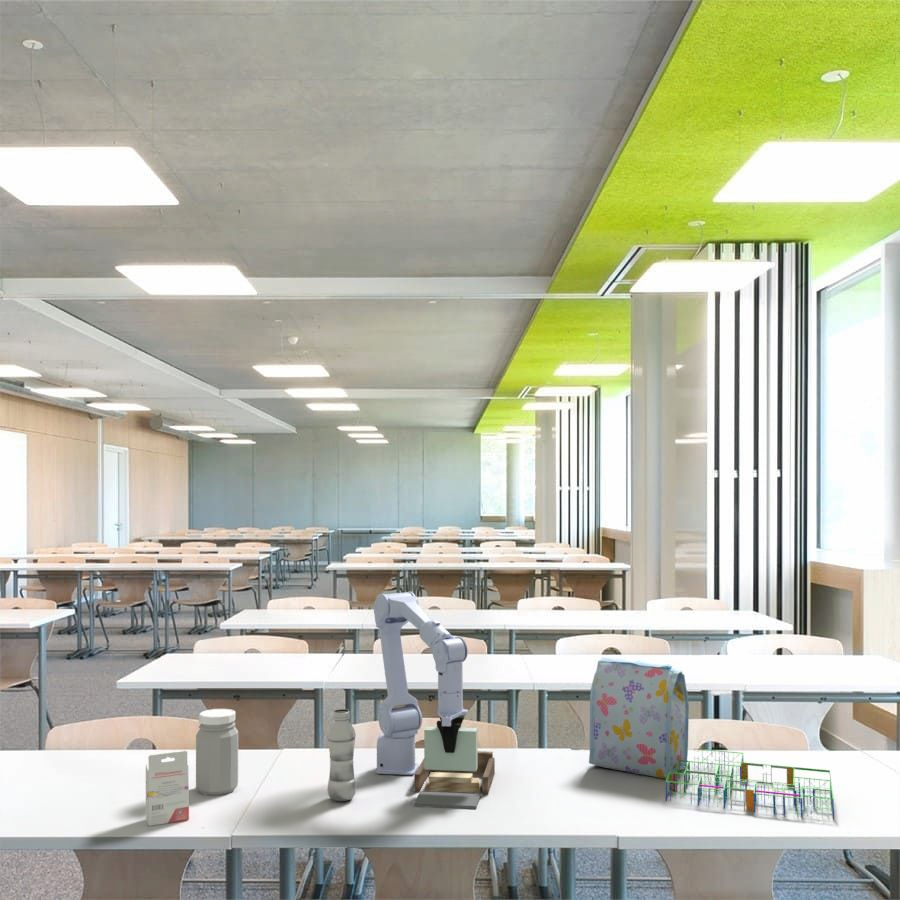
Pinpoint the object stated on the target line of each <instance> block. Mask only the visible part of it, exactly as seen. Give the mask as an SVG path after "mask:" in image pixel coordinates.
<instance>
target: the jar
mask: <svg viewBox="0 0 900 900" xmlns="http://www.w3.org/2000/svg"><path fill="white" fill-rule="evenodd" d="M235 720H236V711H235V710H234V709H230V708H213V709H212V708H211V709H206V710H204V711H201V712H200V713H199V714H198V721H199V722H198V723H199V724H200V725H199V726H198V728H199V730H198V731H197V733H196V735H195V789H196V790H197V791H198V792H199V794H202V795H205V796H210V797H211V796H222V795H225V794H227V795H228V794H229V793H231V792H234V791H235V789H236V788H237V787H238V784H239V730H238V729H237V727H236V722H235Z"/></svg>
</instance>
